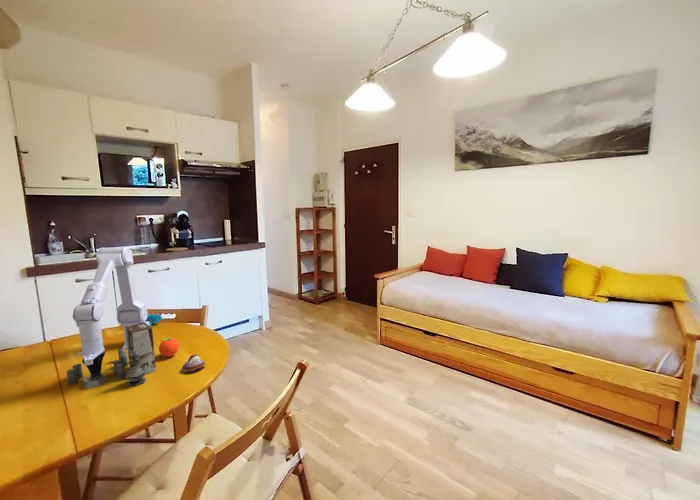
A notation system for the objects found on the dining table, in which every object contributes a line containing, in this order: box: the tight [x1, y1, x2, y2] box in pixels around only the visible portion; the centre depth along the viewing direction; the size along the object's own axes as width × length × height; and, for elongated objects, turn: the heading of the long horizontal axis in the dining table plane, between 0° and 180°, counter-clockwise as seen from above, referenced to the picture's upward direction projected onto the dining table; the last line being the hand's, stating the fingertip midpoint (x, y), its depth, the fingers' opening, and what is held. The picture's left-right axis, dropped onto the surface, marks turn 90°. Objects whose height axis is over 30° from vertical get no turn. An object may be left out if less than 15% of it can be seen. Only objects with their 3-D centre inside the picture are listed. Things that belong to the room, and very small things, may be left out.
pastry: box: [181, 353, 206, 374], centre depth 119 cm, size 8×8×5 cm
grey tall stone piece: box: [125, 349, 147, 388], centre depth 109 cm, size 6×6×12 cm
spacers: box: [66, 347, 129, 386], centre depth 116 cm, size 16×17×4 cm
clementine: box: [158, 337, 180, 358], centre depth 128 cm, size 8×7×7 cm
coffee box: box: [125, 322, 157, 375], centre depth 117 cm, size 9×6×16 cm
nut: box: [82, 372, 107, 390], centre depth 109 cm, size 6×5×2 cm
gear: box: [145, 312, 163, 328], centre depth 157 cm, size 11×6×10 cm
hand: (96, 375), depth 112 cm, fingers closed
